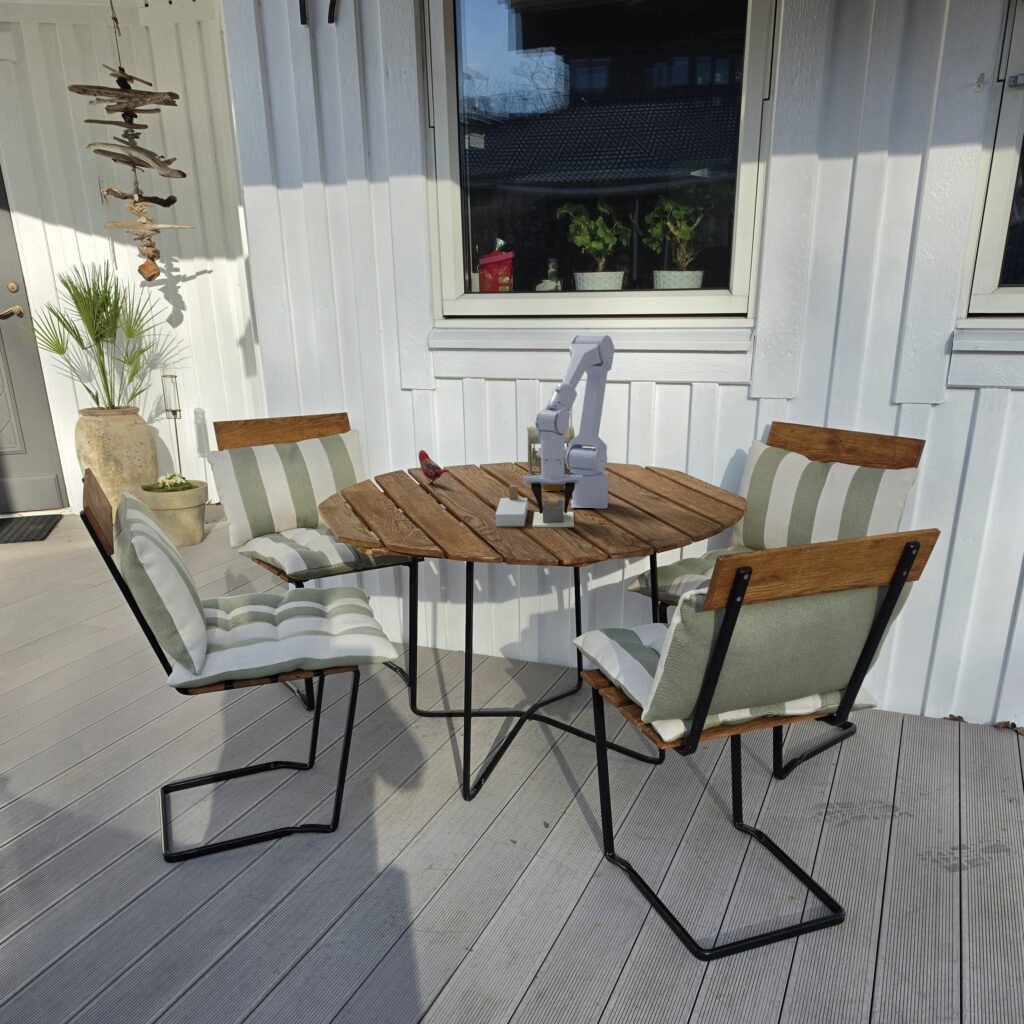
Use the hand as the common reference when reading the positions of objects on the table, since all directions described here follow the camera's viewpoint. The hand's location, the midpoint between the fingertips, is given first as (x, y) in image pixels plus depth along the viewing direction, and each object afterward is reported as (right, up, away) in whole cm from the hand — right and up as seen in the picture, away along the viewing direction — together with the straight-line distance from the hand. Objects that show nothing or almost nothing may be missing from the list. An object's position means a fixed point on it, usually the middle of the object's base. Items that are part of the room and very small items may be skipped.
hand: (553, 512), depth 186 cm
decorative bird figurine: (-34, +8, +41) cm, 53 cm away
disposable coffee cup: (+2, +6, +31) cm, 32 cm away
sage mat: (0, -2, +1) cm, 2 cm away
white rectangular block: (-10, -1, +4) cm, 11 cm away
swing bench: (+2, +12, +54) cm, 55 cm away
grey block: (0, -1, 0) cm, 2 cm away
